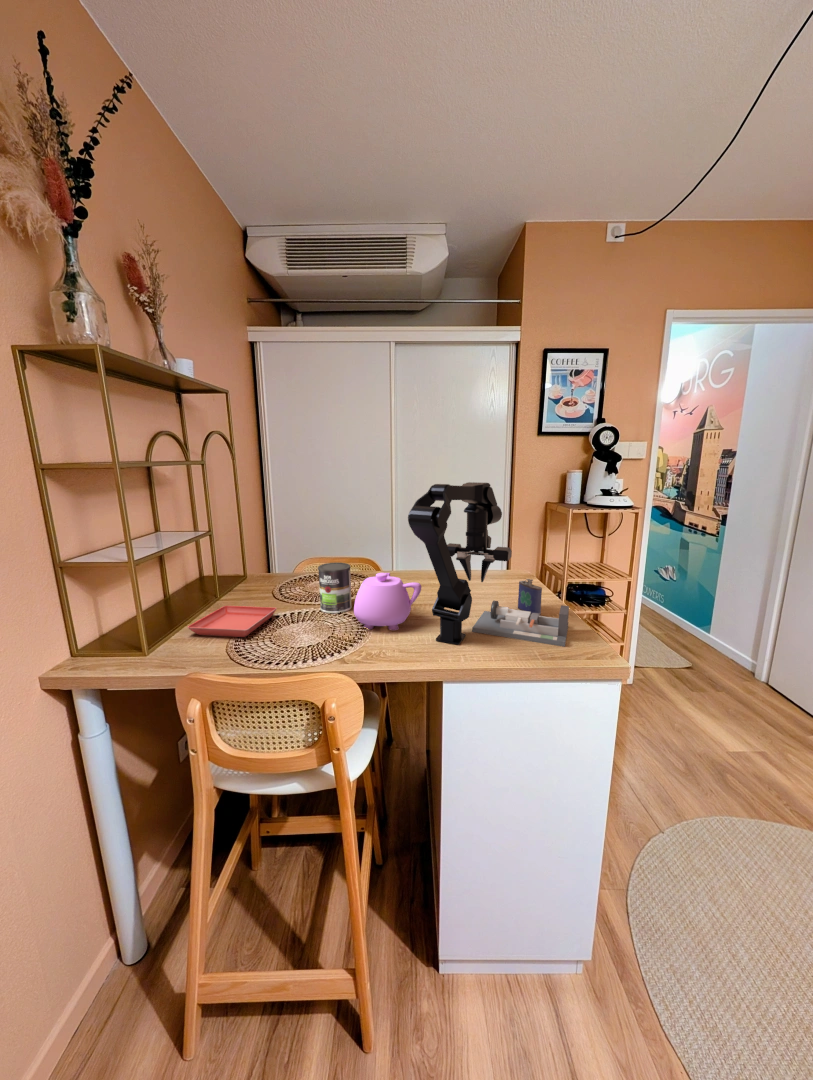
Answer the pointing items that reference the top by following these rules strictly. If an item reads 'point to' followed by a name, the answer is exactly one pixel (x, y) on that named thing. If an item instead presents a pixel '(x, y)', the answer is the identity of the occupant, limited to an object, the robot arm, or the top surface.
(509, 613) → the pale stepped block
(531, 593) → the flask
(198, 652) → the top surface
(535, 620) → the marker
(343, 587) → the coffee can
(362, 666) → the top surface
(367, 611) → the teapot
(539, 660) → the top surface
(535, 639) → the gauge bench
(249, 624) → the plant saucer
